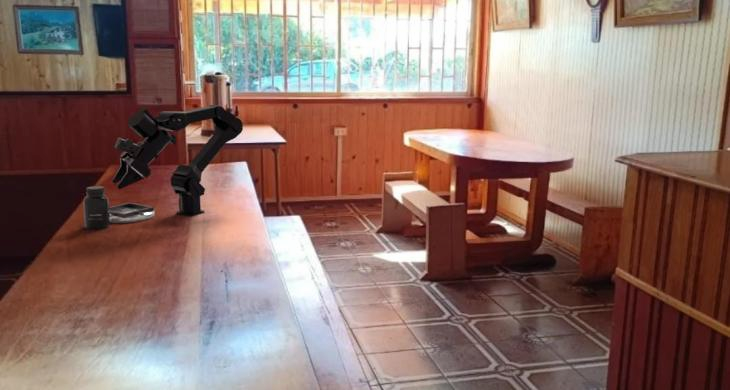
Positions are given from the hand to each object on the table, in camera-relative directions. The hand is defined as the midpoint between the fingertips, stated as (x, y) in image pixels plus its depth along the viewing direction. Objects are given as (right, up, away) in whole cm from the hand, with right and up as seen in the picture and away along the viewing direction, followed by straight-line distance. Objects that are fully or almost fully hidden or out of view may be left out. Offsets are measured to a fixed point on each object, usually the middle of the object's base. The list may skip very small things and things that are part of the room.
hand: (115, 185), depth 184 cm
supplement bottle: (-5, -13, 0) cm, 14 cm away
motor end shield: (-1, -10, +12) cm, 16 cm away
